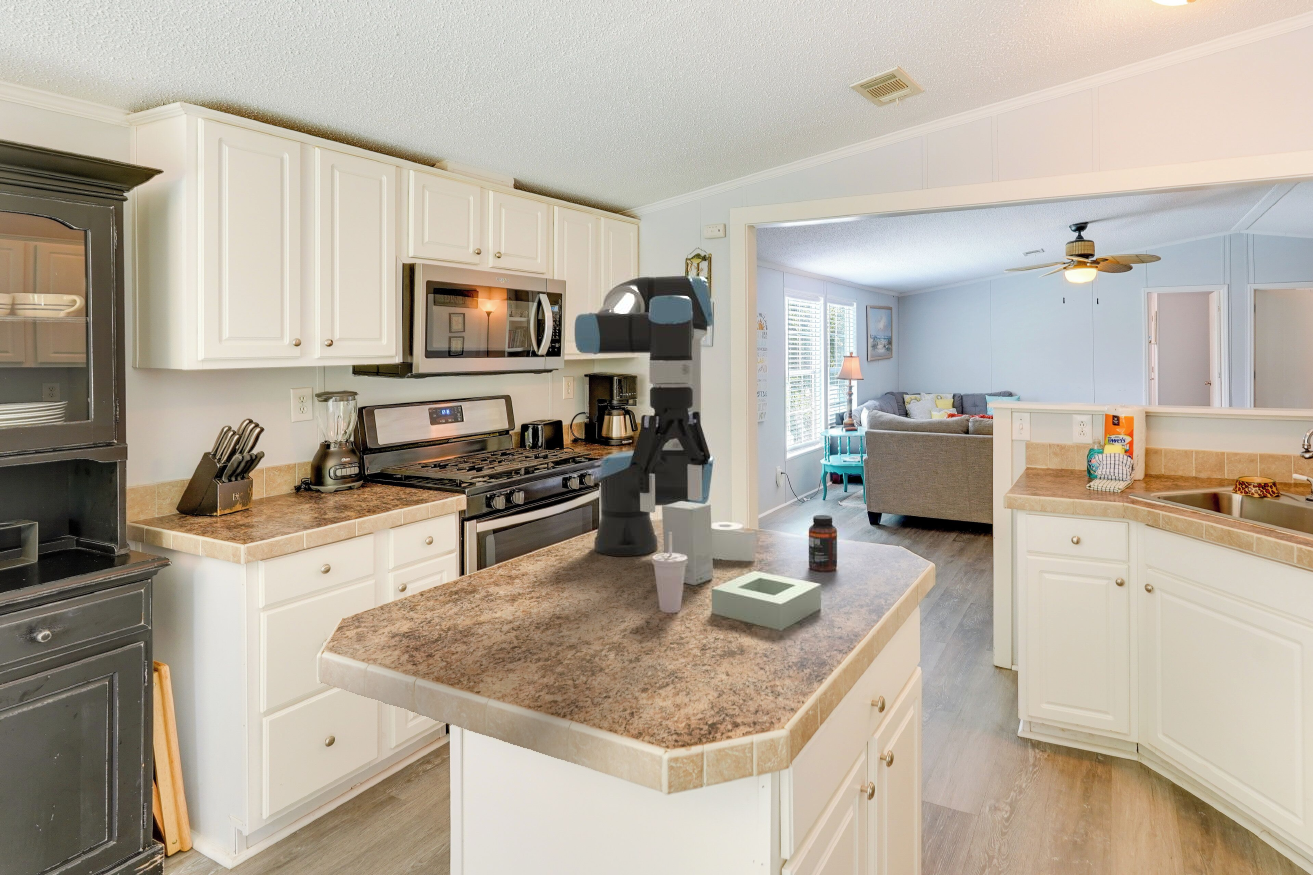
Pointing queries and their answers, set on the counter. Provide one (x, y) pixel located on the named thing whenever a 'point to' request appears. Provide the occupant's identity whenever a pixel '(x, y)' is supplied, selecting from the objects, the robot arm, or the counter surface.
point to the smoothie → (669, 578)
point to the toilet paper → (732, 542)
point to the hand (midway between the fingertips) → (672, 505)
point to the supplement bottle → (822, 544)
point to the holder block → (766, 599)
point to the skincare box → (690, 538)
